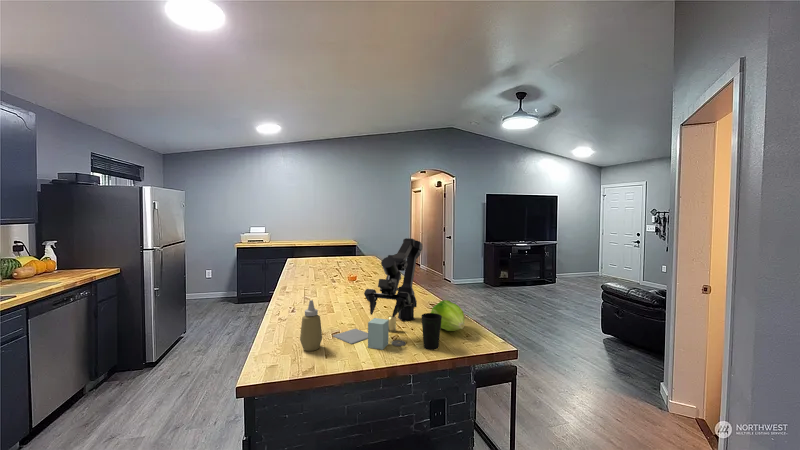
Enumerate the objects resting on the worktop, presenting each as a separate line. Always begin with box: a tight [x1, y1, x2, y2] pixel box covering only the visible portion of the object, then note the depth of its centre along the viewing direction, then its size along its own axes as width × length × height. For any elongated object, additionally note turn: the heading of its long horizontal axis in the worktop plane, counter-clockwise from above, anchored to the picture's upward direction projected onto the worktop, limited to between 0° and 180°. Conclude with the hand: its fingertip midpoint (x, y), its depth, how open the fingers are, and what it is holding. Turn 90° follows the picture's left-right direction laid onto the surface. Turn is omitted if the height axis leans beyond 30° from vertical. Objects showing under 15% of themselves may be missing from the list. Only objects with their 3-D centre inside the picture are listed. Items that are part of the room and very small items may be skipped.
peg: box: [387, 315, 397, 333], centre depth 148 cm, size 3×3×6 cm
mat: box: [332, 328, 368, 345], centre depth 141 cm, size 12×12×1 cm
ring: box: [390, 339, 407, 347], centre depth 134 cm, size 6×6×1 cm
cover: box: [367, 317, 390, 350], centre depth 131 cm, size 6×6×10 cm
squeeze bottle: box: [299, 299, 323, 352], centre depth 128 cm, size 8×8×18 cm
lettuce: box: [430, 299, 465, 332], centre depth 148 cm, size 14×20×12 cm
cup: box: [420, 312, 442, 351], centre depth 130 cm, size 8×8×12 cm
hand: (381, 315), depth 134 cm, fingers open, 9 cm apart
